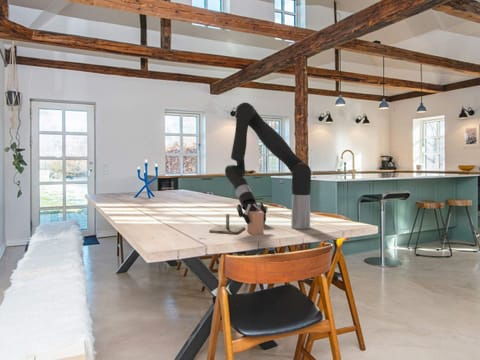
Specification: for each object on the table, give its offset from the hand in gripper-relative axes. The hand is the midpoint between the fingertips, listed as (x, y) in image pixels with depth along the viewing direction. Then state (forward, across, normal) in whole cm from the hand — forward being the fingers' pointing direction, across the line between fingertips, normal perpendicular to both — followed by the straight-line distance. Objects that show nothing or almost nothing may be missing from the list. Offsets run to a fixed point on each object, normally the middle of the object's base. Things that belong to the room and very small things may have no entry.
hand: (256, 222), depth 165 cm
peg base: (-4, -10, +12) cm, 16 cm away
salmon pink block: (+3, 0, +5) cm, 5 cm away
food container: (-9, +10, +17) cm, 22 cm away
